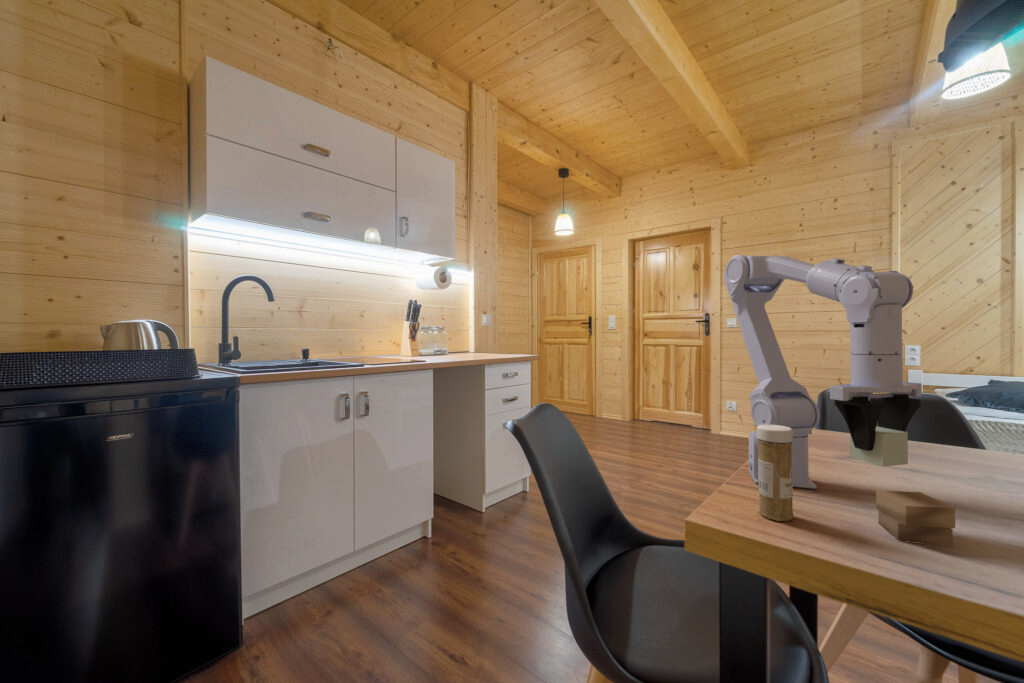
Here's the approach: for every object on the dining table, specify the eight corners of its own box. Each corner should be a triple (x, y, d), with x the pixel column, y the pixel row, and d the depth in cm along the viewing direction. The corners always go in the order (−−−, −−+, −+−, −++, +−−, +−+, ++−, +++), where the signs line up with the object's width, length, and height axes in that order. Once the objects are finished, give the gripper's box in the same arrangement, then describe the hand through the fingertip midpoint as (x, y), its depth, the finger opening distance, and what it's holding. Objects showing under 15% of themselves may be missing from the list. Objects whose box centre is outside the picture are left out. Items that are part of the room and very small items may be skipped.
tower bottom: (898, 543, 55) (898, 523, 55) (878, 525, 60) (878, 507, 60) (952, 549, 53) (952, 529, 53) (927, 531, 58) (927, 512, 58)
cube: (882, 466, 58) (882, 434, 58) (850, 457, 63) (850, 427, 63) (907, 464, 59) (907, 432, 59) (874, 455, 64) (873, 425, 64)
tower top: (905, 525, 54) (905, 505, 54) (876, 508, 60) (876, 490, 60) (955, 528, 54) (955, 508, 53) (920, 510, 59) (920, 492, 59)
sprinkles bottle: (798, 524, 60) (797, 430, 60) (762, 520, 62) (761, 429, 62) (788, 511, 65) (787, 424, 65) (754, 508, 66) (753, 422, 66)
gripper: (865, 356, 56) (866, 459, 56) (946, 353, 59) (948, 450, 59) (815, 354, 63) (817, 446, 63) (891, 352, 66) (892, 439, 66)
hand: (877, 447), depth 61 cm, fingers closed on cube, 4 cm apart
